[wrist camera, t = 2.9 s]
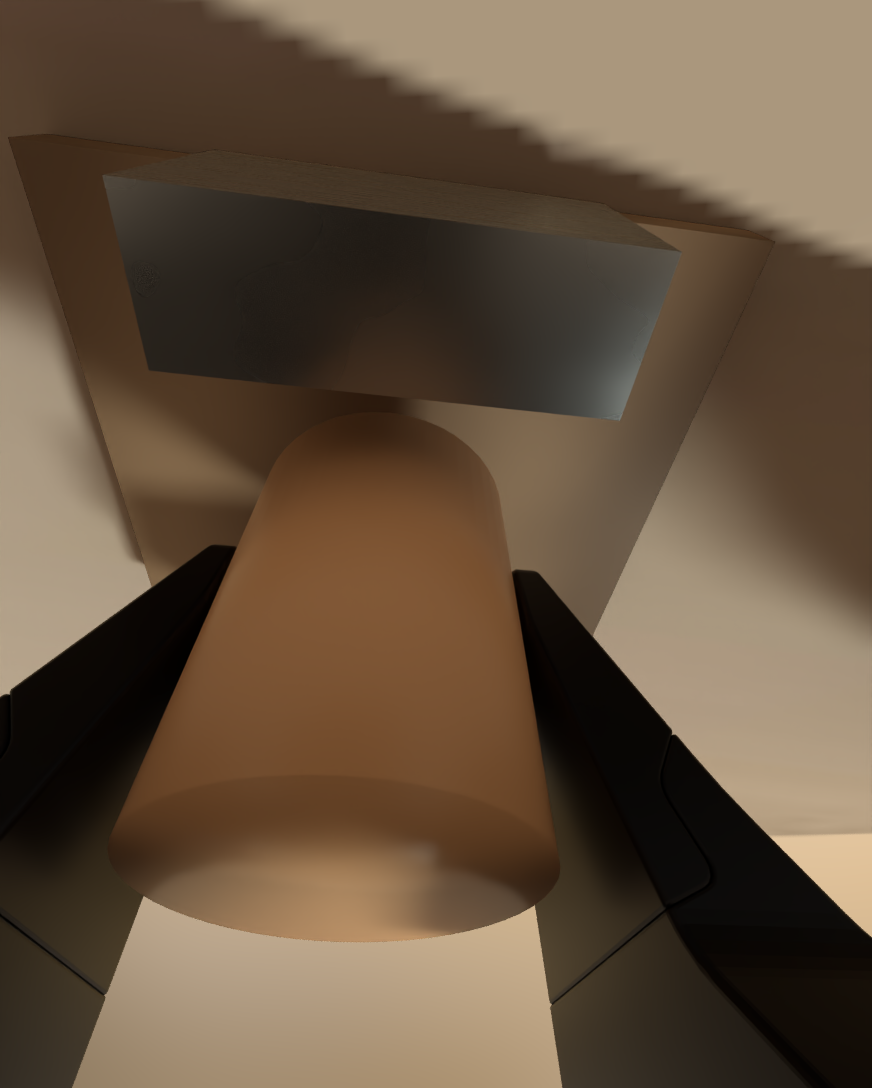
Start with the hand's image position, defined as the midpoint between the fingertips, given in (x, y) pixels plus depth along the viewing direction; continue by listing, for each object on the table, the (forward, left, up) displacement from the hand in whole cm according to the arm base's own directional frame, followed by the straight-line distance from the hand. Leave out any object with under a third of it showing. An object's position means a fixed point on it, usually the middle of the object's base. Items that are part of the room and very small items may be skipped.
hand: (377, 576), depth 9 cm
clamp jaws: (0, 0, -4) cm, 4 cm away
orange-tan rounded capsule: (0, 0, -2) cm, 2 cm away
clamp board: (0, 0, -4) cm, 4 cm away
